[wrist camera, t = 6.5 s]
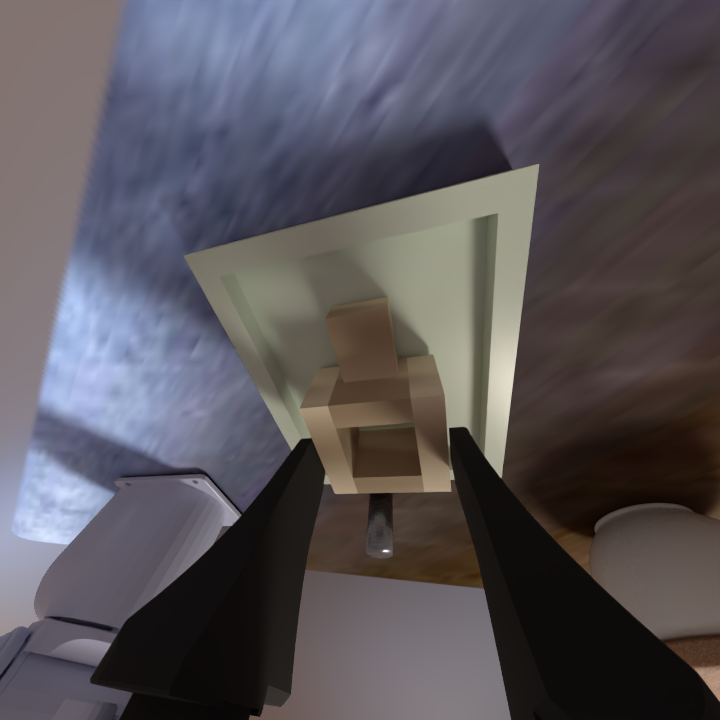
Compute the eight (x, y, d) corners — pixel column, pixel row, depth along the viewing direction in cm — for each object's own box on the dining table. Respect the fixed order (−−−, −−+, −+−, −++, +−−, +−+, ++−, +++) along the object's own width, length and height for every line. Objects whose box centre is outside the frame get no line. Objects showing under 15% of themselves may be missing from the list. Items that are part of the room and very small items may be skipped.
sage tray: (317, 461, 19) (310, 484, 17) (211, 247, 11) (183, 255, 9) (491, 452, 16) (501, 478, 15) (512, 169, 9) (539, 163, 7)
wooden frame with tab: (440, 440, 14) (451, 491, 12) (344, 446, 15) (335, 493, 13) (427, 289, 10) (439, 315, 8) (298, 312, 11) (270, 341, 9)
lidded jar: (537, 545, 22) (617, 733, 15) (607, 474, 16) (803, 727, 9) (667, 561, 22) (824, 768, 14) (788, 493, 16) (1180, 787, 8)
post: (372, 500, 21) (368, 558, 18) (367, 487, 20) (363, 546, 17) (393, 499, 21) (394, 558, 17) (390, 487, 20) (390, 546, 16)
